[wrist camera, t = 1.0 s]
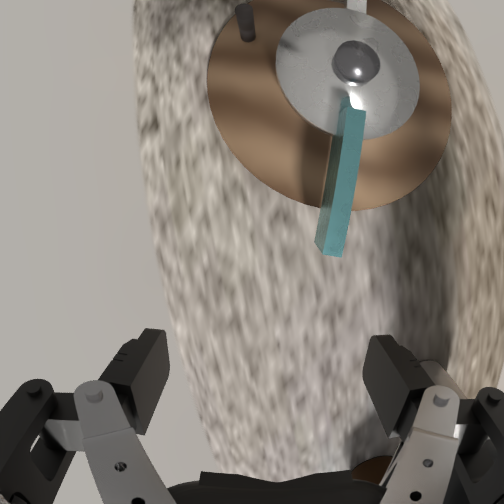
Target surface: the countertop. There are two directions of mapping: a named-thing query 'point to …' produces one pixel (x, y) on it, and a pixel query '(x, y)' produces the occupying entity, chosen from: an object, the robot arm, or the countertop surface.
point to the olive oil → (372, 469)
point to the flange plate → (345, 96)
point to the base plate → (303, 134)
